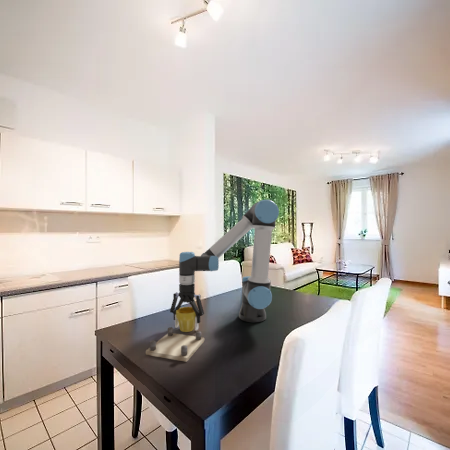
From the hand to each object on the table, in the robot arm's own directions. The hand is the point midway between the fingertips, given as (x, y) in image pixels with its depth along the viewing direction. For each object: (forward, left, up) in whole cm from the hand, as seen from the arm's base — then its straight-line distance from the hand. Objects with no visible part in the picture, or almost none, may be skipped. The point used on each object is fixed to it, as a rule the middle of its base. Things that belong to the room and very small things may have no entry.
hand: (186, 328), depth 125 cm
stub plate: (-4, +18, -1) cm, 18 cm away
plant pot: (0, 0, -1) cm, 1 cm away
